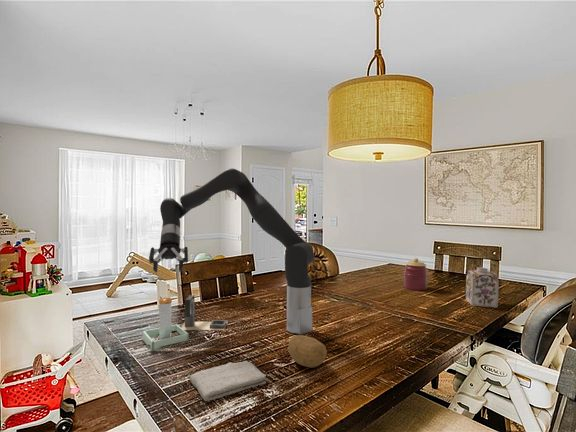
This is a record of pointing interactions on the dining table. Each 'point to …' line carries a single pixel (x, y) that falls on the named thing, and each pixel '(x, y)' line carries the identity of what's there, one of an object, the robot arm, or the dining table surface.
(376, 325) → the dining table surface
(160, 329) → the pin
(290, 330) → the robot arm
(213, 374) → the washcloth
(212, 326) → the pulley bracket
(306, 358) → the potato
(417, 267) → the canister
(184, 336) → the tray
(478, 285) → the decorative jar
